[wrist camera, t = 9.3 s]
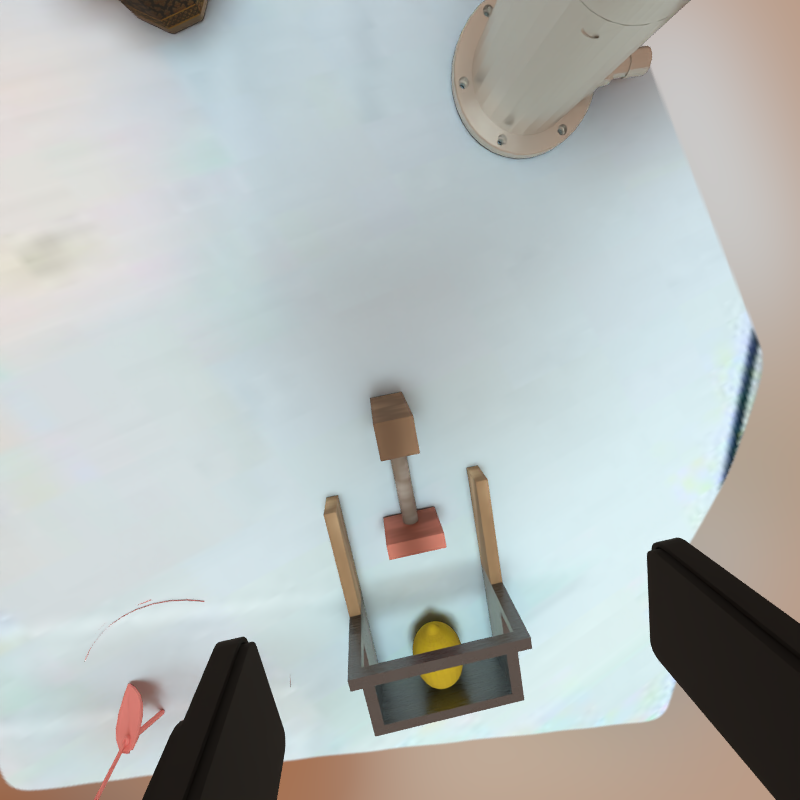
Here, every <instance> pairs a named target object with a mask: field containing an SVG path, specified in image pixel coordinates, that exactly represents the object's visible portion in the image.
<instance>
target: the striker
mask: <svg viewBox="0 0 800 800" xmlns="http://www.w3.org/2000/svg"><path fill="white" fill-rule="evenodd" d="M370 402H371V410H372V419H373V426H374V431H375V436H376V440H377V445H378V450H379V455H380V460H381V461H385V460H390V459H391V464H392V469H393V474H394V479H395V484H396V488H397V493H398V498H399V503H400V508H401V513H402V514H399V515H394V516H389V517H385V518H383V519H384V528H385V536H386V545H387V550H388V555H389V559H390V560H392V559H396V558H401V557H405V556H410V555H414V554H419V553H423V552H428V551H432V550H437V549H441V548H446V542H445V536H444V532H443V529H442V526H441V524H440V521H439V518H438V516H437V513H436V510H435V508H434V507H431V508H426V509H422V510H417V509H416V504H415V499H414V493H413V488H412V483H411V478H410V472H409V467H408V462H407V457H406V456H409V455H414V454H419V453H420V451H419V446H418V440H417V435H416V429H415V424H414V418H413V415H412V413H411V411H410V409H409V406H408V404H407V402H406V400H405V398H404V396H403V394H402V392H399V393H394V394H389V395H384V396H379V397H374V398H370Z"/></svg>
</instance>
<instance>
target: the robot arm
mask: <svg viewBox="0 0 800 800" xmlns="http://www.w3.org/2000/svg"><path fill="white" fill-rule="evenodd" d="M689 1H690V0H485V1H484V2H482V3H481V4H480V5H479V6H478V7H477V9H476V10H475V11H474V12H473V14H472V15H471V16H470V17H469V19H468V21H467V23H466V25H465V27H464V28H463V30H462V32H461V35H460V38H459V40H458V43H457V45H456V49H455V54H454V58H453V63H452V77H451V78H452V90H453V96H454V100H455V104H456V108H457V110H458V113H459V115H460V117H461V119H462V121H463V123H464V125H465V126H466V128H467V129H468V131H469V132H470V133H471V135H472V136H473V137H474V138H475V139H476V140H477V141H478V142H479V143H480V144H481V145H483V146H484V147H486V148H487V149H489V150H490V151H492V152H494V153H497V154H499V155H502V156H505V157H511V158H531V157H534V156H538V155H541V154H544V153H546V152H548V151H549V150H551V149H553V148H555V147H556V146H557V145H559V144H560V143H561V142H563V141H564V140H565V139H566V138H567V137H568V136H569V135H570V134H571V133H572V132H573V131H574V130H575V129H576V128H577V126H578V125H579V124H580V122H581V121H582V119H583V118H584V116H585V114H586V112H587V110H588V108H589V106H590V103H591V100H592V96H593V93H594V91H595V90H596V89H597V88H598V87H601V86H606V85H608V84H609V83H610V81H611V80H612V79H616V78H621V79H624V78H630V77H636V76H642V75H644V74H645V73H646V72H647V70H648V69H649V67H650V64H651V60H652V51H651V48H650V47H648V46H643V47H640V46H641V45H642V44H643V43H644V42H645V41H647V40H648V39H649V38H650V37H651V36H652V35H653V34H654V33H655V32H656V31H657V30H658V29H660V28H661V27H662V26H663V25H664V24H665V23H666V22H667V21H668V20H669V19H670V18H672V17H673V16H674V15H675V14H676V13H677V12H678V11H679V10H680V9H681V8H682V7H683V6H685V5H686V4H687V3H688V2H689ZM485 15H486V16H487V17H486V16H485ZM460 85H462V86H463V87H464V89H462V88H461V87H460ZM558 131H559V132H560V134H559V133H558ZM497 141H500V142H501V145H499V144H498V142H497ZM647 570H648V596H649V622H650V642H651V647H652V649H653V652H654V654H655V655H656V657H657V658H658V660H659V661H660V662H661V664H662V665H663V666H664V667H665V668H666V669H667V671H668V672H669V673H670V674H671V675H672V677H673V678H674V679H675V680H676V681H677V683H678V684H679V685H680V686H681V687H682V688H683V690H684V691H685V692H686V693H687V694H688V696H689V697H690V698H691V699H692V700H693V702H695V704H696V705H697V706H698V708H699V709H700V710H701V711H702V712H703V713H704V715H705V716H706V717H707V718H708V719H709V721H710V722H711V723H712V724H713V725H714V727H715V728H716V729H717V730H718V731H719V732H720V734H721V735H722V736H723V737H724V738H725V740H726V741H727V742H728V743H729V744H730V745H731V746H732V748H733V749H734V750H735V751H736V753H737V754H738V755H739V756H740V757H741V759H742V760H743V761H744V762H745V763H746V764H747V766H748V767H749V768H750V769H751V770H752V772H753V773H754V774H755V775H756V776H757V778H758V779H759V780H760V781H761V782H762V784H763V785H764V786H765V787H766V788H767V789H768V791H769V792H770V793H771V794H772V795H773V797H774V798H775V799H776V800H800V623H798V622H797V621H795V620H794V619H793V618H791V617H790V616H789V615H787V614H786V613H784V612H783V611H782V610H780V609H779V608H778V607H776V606H775V605H773V604H772V603H771V602H769V601H767V599H765V598H764V597H762V596H761V595H760V594H758V593H757V592H755V591H754V590H753V589H751V588H750V587H749V586H747V585H746V584H744V583H743V582H742V581H740V580H739V579H738V578H736V577H735V576H733V575H732V574H730V573H729V572H728V571H726V570H725V569H724V568H722V567H721V566H720V565H718V564H717V563H715V562H714V561H713V560H711V559H710V558H709V557H707V556H706V555H704V554H703V553H702V552H700V551H699V550H698V549H696V548H695V547H693V546H692V545H691V544H689V543H688V542H687V541H685V540H683V539H681V538H673V539H669V540H665V541H660V542H656V543H654V544H653V545H652V550H651V551H648V553H647ZM284 753H285V732H284V728H283V725H282V722H281V719H280V716H279V713H278V710H277V707H276V704H275V701H274V698H273V695H272V692H271V689H270V686H269V683H268V680H267V677H266V674H265V670H264V667H263V664H262V661H261V658H260V655H259V652H258V649H257V646H256V644H255V643H254V642H249V643H248V641H247V639H246V638H245V637H239V638H235V639H231V640H226V641H222V642H218V643H217V644H216V646H215V647H214V649H213V652H212V654H211V657H210V659H209V661H208V664H207V666H206V668H205V671H204V673H203V676H202V678H201V680H200V683H199V685H198V687H197V690H196V692H195V694H194V697H193V699H192V702H191V704H190V706H189V709H188V711H187V713H186V716H185V718H184V720H183V721H180V722H179V723H178V724H177V725H176V726H175V728H174V730H173V731H172V733H171V735H170V737H169V739H168V742H167V744H166V746H165V749H164V751H163V753H162V755H161V758H160V760H159V762H158V765H157V767H156V769H155V771H154V774H153V776H152V778H151V781H150V783H149V785H148V788H147V790H146V792H145V794H144V797H143V799H142V800H277V795H278V789H279V783H280V777H281V771H282V765H283V759H284Z"/></svg>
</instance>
